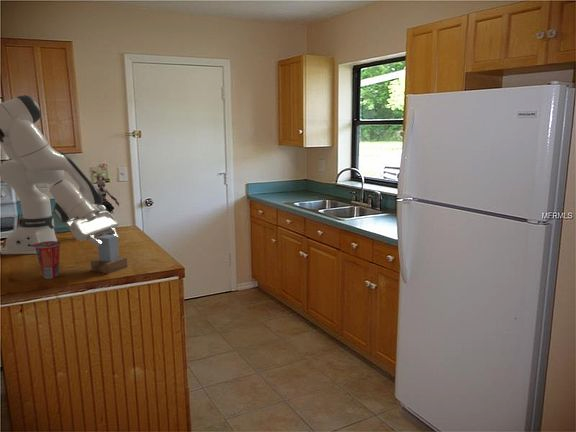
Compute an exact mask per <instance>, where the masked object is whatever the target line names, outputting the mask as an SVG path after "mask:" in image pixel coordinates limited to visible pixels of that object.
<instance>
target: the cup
mask: <svg viewBox="0 0 576 432" xmlns="http://www.w3.org/2000/svg"><path fill="white" fill-rule="evenodd" d="M30 246H31V247H35V249H36V253H37V254H36V255H37V260H38V263H39V267H40V270H41V275H42V277H43V279H54V278H57V277H58V276H59V275H60V246H61V241H58V240H57V241H47V242H41V243H37V244H33V245H30Z"/></svg>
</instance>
